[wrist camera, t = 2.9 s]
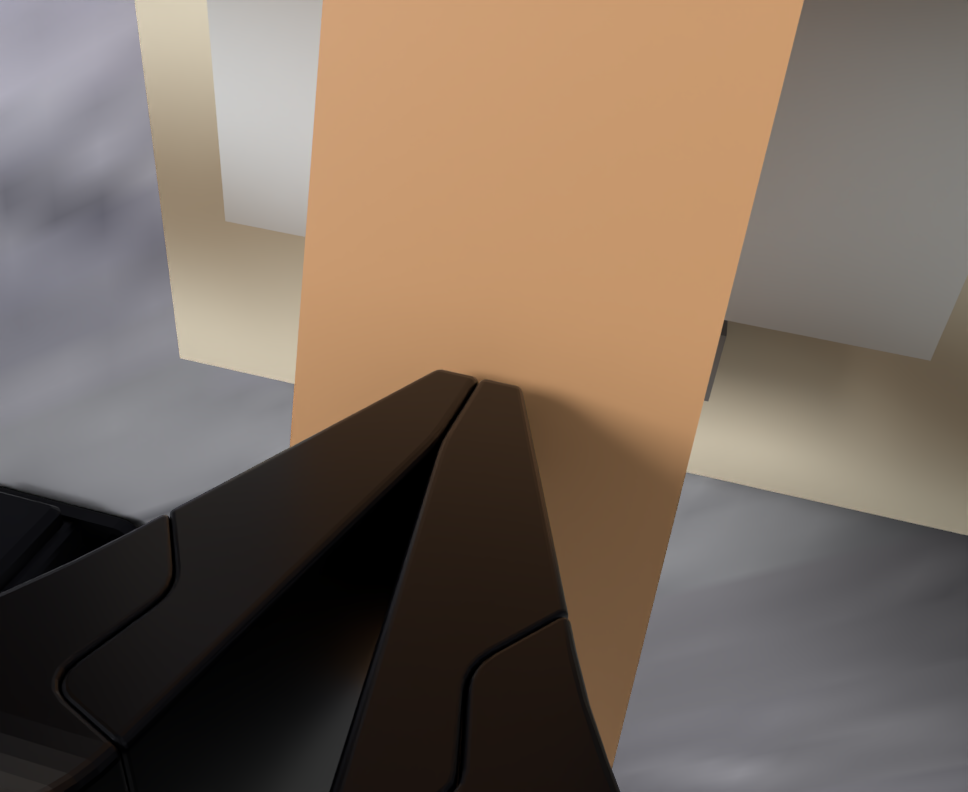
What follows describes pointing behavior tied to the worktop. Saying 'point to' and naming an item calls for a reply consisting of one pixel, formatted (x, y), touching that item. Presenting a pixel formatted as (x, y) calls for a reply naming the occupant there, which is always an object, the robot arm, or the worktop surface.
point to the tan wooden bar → (543, 248)
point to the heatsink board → (755, 382)
